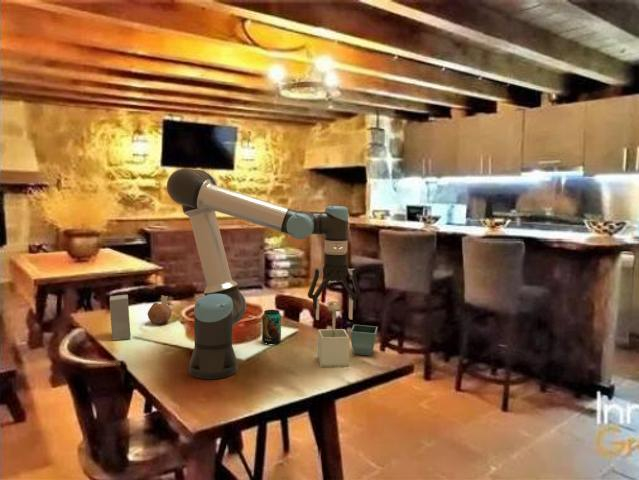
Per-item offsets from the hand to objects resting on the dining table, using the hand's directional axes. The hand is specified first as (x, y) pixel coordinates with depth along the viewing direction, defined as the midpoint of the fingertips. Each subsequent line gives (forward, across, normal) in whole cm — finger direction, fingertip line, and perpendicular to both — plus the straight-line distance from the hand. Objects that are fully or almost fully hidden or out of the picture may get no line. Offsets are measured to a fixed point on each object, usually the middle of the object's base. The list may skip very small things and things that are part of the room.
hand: (333, 318), depth 160 cm
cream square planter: (+15, 0, 0) cm, 15 cm away
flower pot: (+15, +12, +8) cm, 22 cm away
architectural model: (+16, -68, +71) cm, 99 cm away
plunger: (+13, 0, 0) cm, 13 cm away
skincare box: (+15, -77, +31) cm, 84 cm away
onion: (+15, -66, +49) cm, 84 cm away
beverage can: (+15, -20, +22) cm, 33 cm away
